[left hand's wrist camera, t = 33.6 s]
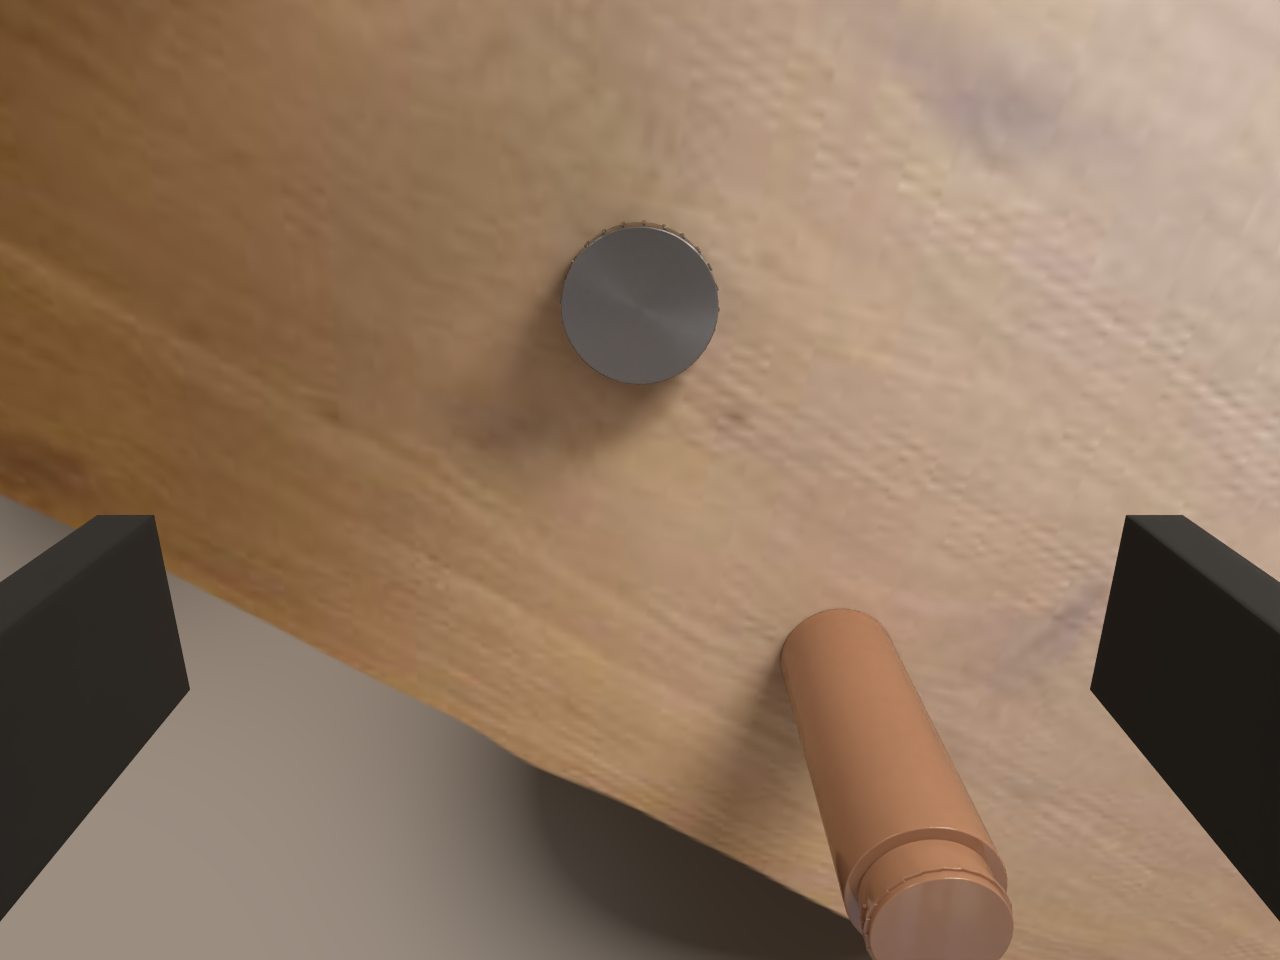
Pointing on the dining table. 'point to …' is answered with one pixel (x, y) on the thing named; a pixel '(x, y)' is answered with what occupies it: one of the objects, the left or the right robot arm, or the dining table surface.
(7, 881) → the left robot arm
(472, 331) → the dining table surface
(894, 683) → the jar
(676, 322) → the lid
